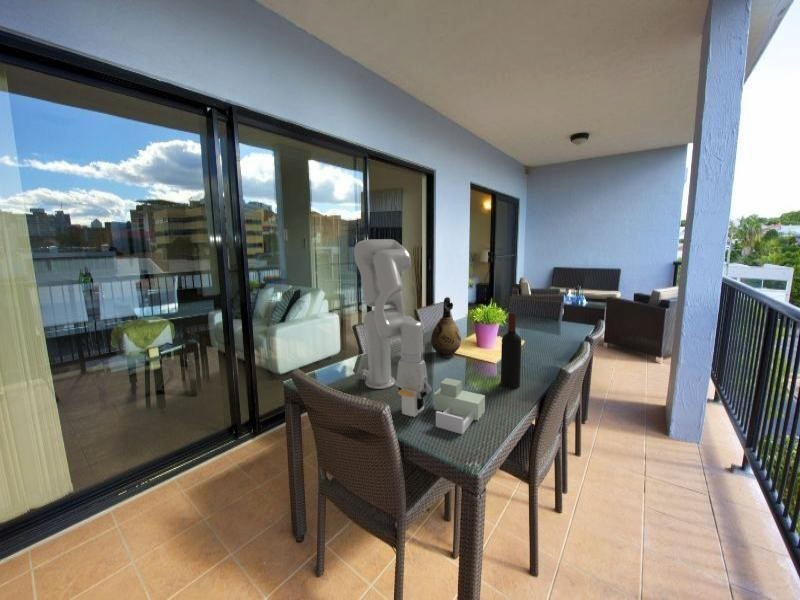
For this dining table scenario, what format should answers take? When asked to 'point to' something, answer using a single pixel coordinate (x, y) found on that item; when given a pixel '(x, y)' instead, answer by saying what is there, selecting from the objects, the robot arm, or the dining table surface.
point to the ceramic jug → (446, 333)
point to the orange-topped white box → (409, 402)
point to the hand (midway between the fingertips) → (413, 405)
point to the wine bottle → (511, 356)
